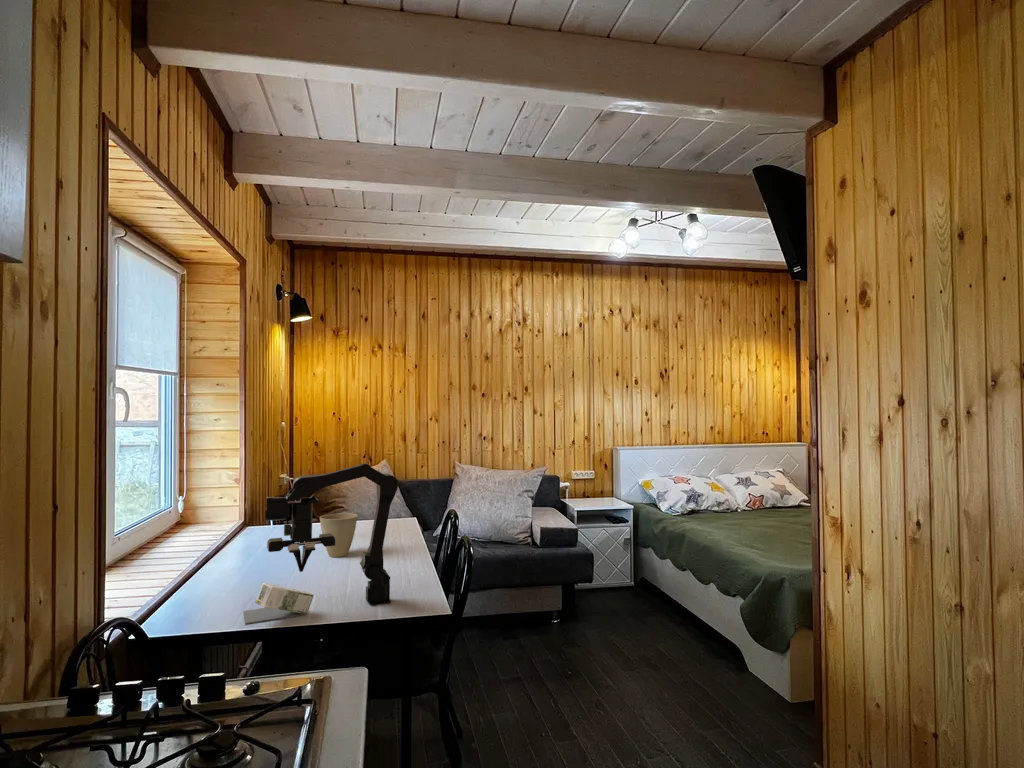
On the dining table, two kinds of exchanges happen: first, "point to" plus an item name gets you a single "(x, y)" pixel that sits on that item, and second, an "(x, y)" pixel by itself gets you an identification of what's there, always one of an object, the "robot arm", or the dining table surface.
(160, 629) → the dining table surface
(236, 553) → the dining table surface
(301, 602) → the syrup box
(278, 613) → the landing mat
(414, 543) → the dining table surface
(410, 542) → the dining table surface
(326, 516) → the plant pot
